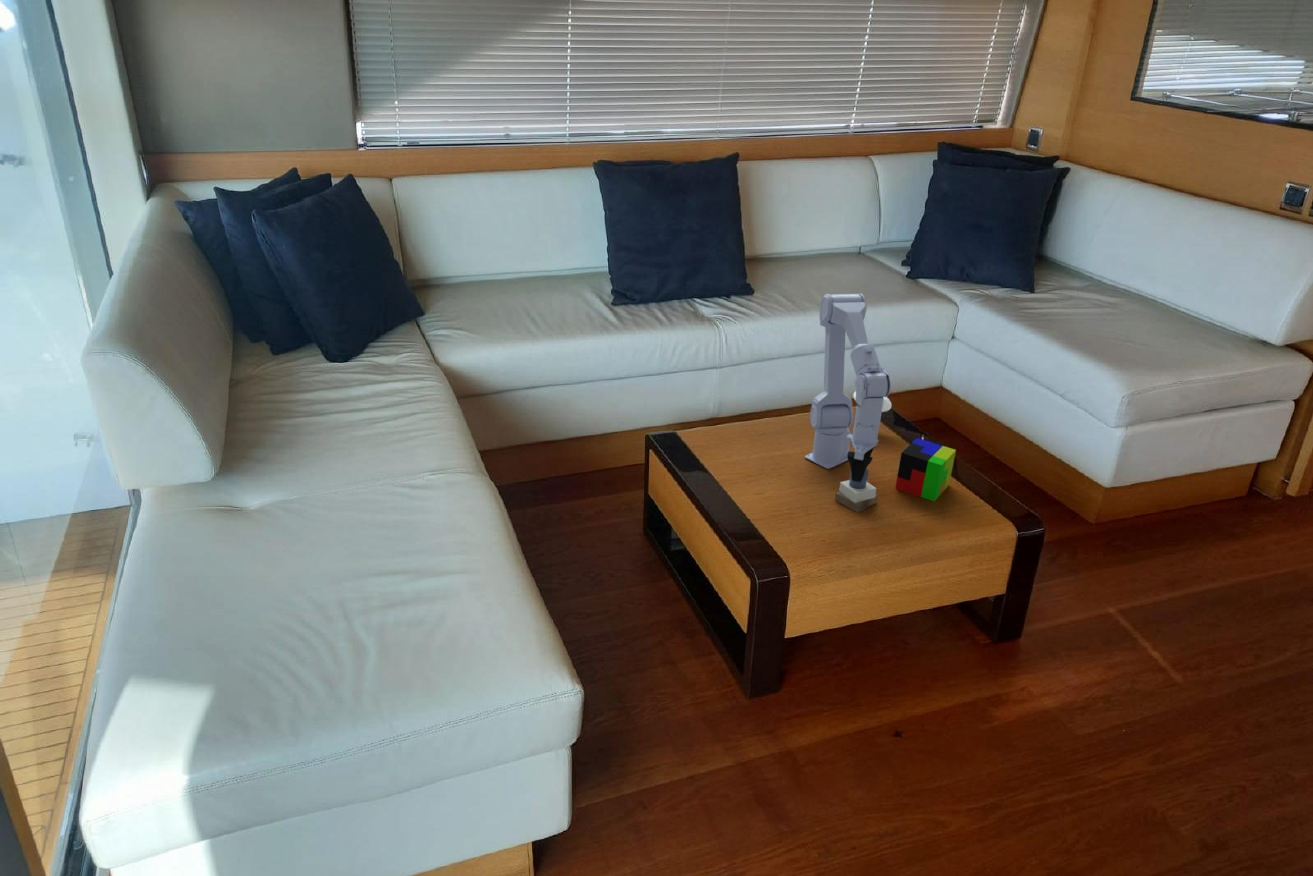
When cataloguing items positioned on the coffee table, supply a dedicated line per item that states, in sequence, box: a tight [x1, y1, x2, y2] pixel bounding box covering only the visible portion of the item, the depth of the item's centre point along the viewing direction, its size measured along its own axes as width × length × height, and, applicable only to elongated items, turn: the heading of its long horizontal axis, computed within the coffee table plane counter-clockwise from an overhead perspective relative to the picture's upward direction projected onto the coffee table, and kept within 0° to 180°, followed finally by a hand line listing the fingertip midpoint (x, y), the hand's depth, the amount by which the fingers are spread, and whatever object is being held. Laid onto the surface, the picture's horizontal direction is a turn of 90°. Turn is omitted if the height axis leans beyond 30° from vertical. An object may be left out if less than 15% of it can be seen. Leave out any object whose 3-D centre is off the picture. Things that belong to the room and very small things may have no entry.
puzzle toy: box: [894, 438, 957, 502], centre depth 229 cm, size 10×10×10 cm
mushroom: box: [852, 390, 892, 413], centre depth 256 cm, size 10×11×12 cm
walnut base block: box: [834, 491, 878, 513], centre depth 223 cm, size 7×7×2 cm
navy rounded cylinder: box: [848, 467, 869, 489], centre depth 221 cm, size 4×4×4 cm
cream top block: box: [838, 479, 877, 503], centre depth 222 cm, size 6×6×2 cm
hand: (859, 473), depth 220 cm, fingers open, 7 cm apart
